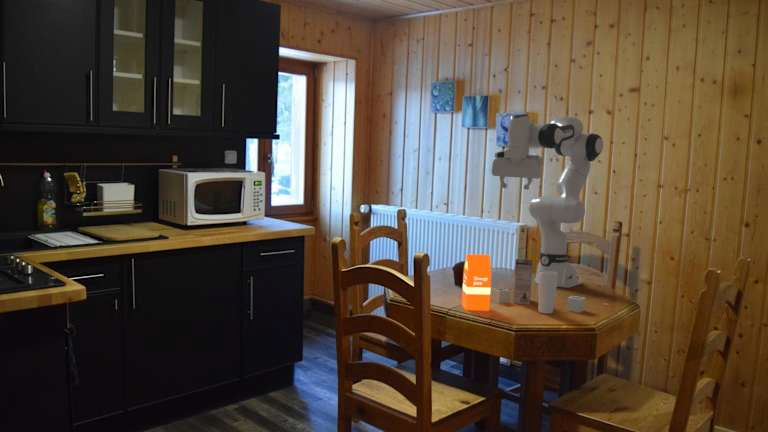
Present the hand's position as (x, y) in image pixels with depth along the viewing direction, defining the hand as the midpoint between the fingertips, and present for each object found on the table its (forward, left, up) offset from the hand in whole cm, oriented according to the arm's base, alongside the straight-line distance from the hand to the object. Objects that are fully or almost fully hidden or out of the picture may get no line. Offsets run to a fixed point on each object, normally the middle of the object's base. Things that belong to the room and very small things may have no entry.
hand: (515, 188), depth 264 cm
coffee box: (+7, +12, -44) cm, 46 cm away
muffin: (+4, -22, -44) cm, 49 cm away
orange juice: (+31, +10, -44) cm, 54 cm away
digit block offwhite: (0, +32, -44) cm, 54 cm away
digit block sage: (+15, +8, -44) cm, 47 cm away
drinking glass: (+13, +28, -44) cm, 54 cm away
